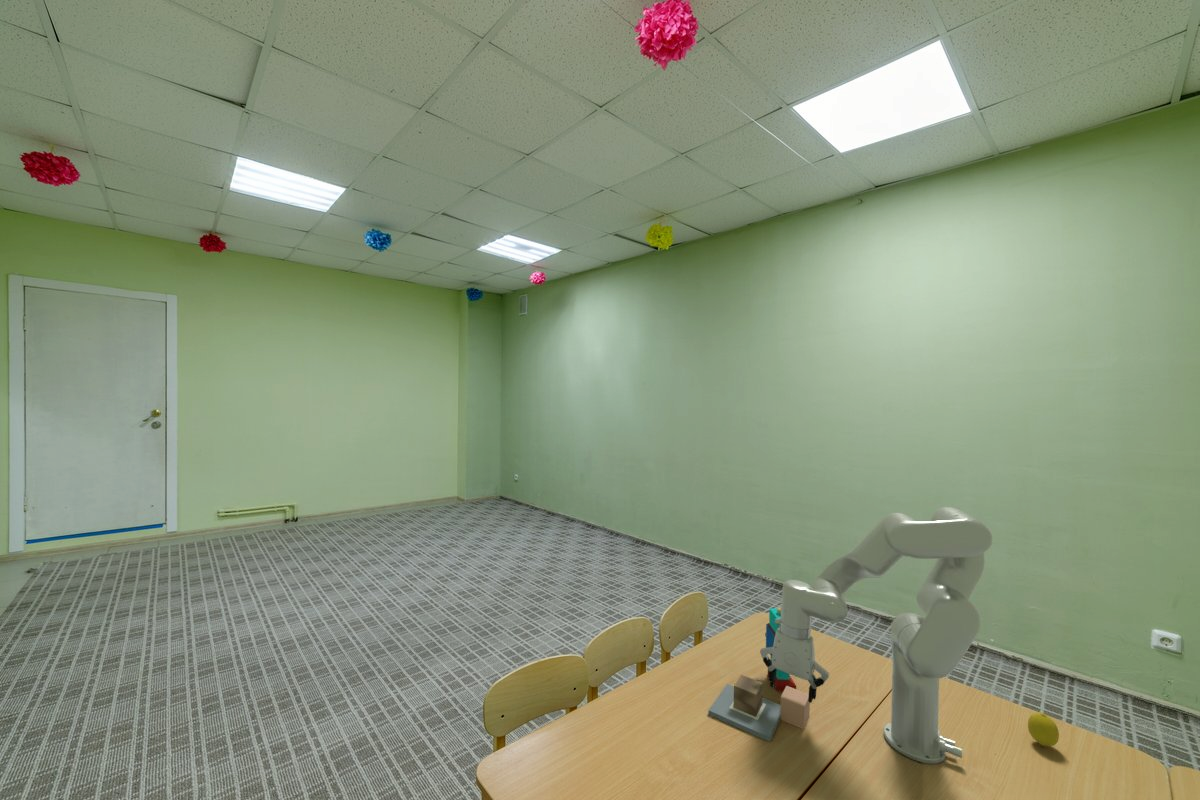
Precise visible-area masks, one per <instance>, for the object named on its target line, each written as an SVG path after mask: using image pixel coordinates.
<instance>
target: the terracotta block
mask: <svg viewBox="0 0 1200 800" xmlns="http://www.w3.org/2000/svg"><path fill="white" fill-rule="evenodd" d="M808 698H809V692H805V691H802V690H799V689H797V688H796V689H794V688H791V687H789V686H786V688H785V690H784V691H782V693H781V695H780V705H781V707H780V721H782V722H783V721H784V722H786V723H789V724H791V725H793V726H796V727H798V728H800V729H803V730H805V728H806V726H807V724H808V721H809V719H810V710H811V707H810V704H811V703H810V702H809V701H808Z"/></svg>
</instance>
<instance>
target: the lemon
mask: <svg viewBox="0 0 1200 800" xmlns="http://www.w3.org/2000/svg"><path fill="white" fill-rule="evenodd" d="M1027 728H1028V732H1029V734H1030V736H1031V738H1033V740H1034V741H1036V742H1037V743H1039V744H1040V746H1041V747H1054V746H1055V745H1056V744H1057V743H1058V742H1059V739H1060V732H1059V728H1058V726H1057V723H1055V721H1054V720H1053V719H1052V718H1051V717H1050V716H1048V715H1046V713H1043V712H1041V713H1039V712H1035V713H1032V714H1030V716H1029V718H1028V721H1027Z"/></svg>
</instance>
